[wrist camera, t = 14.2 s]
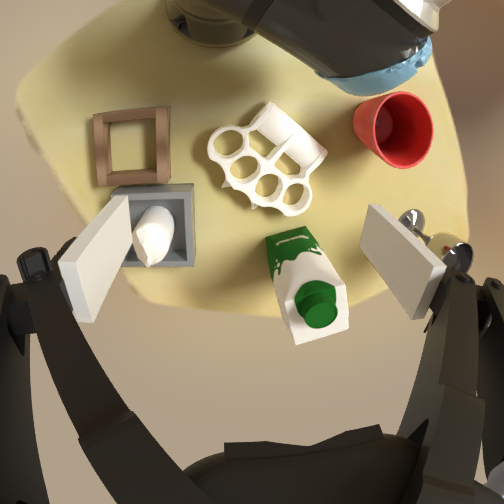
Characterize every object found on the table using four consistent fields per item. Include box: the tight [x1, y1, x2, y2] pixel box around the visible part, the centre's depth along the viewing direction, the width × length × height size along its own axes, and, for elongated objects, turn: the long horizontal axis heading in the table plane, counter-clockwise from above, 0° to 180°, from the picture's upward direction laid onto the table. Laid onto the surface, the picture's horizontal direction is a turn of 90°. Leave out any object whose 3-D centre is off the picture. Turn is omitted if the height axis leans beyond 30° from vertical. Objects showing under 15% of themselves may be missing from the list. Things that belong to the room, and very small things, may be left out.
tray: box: [110, 183, 196, 267], centre depth 45 cm, size 12×12×4 cm
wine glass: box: [399, 209, 474, 274], centre depth 45 cm, size 8×8×15 cm
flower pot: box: [353, 91, 433, 169], centre depth 38 cm, size 11×11×10 cm
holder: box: [93, 106, 171, 186], centre depth 39 cm, size 11×11×3 cm
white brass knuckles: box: [207, 101, 328, 217], centre depth 43 cm, size 3×18×15 cm
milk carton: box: [266, 226, 349, 345], centre depth 43 cm, size 9×9×20 cm
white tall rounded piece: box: [132, 206, 175, 267], centre depth 40 cm, size 6×12×6 cm
